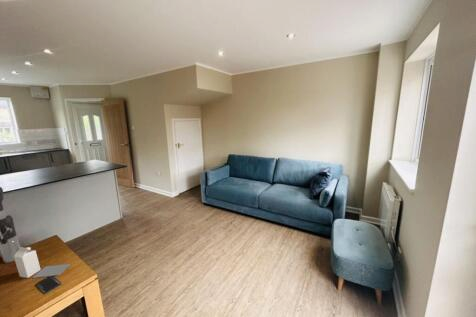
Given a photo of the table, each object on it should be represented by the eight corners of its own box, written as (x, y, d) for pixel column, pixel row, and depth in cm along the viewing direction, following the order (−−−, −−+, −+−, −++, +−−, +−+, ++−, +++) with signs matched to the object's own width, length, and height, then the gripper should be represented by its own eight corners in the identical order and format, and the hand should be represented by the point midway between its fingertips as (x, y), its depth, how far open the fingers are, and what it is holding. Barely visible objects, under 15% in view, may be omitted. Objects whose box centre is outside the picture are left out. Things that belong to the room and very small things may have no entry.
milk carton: (27, 278, 124) (20, 251, 121) (19, 276, 126) (11, 250, 122) (41, 270, 131) (34, 244, 128) (33, 268, 133) (26, 243, 129)
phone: (51, 274, 125) (61, 283, 118) (51, 276, 125) (62, 284, 118) (34, 283, 118) (44, 293, 111) (35, 285, 119) (44, 294, 111)
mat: (32, 278, 124) (32, 277, 124) (46, 266, 134) (45, 266, 134) (59, 275, 125) (58, 274, 125) (70, 264, 135) (70, 263, 135)
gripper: (-23, 222, 116) (-14, 248, 119) (1, 220, 117) (9, 246, 120) (-8, 216, 123) (-1, 241, 127) (14, 214, 124) (21, 239, 128)
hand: (4, 243), depth 123 cm, fingers closed
